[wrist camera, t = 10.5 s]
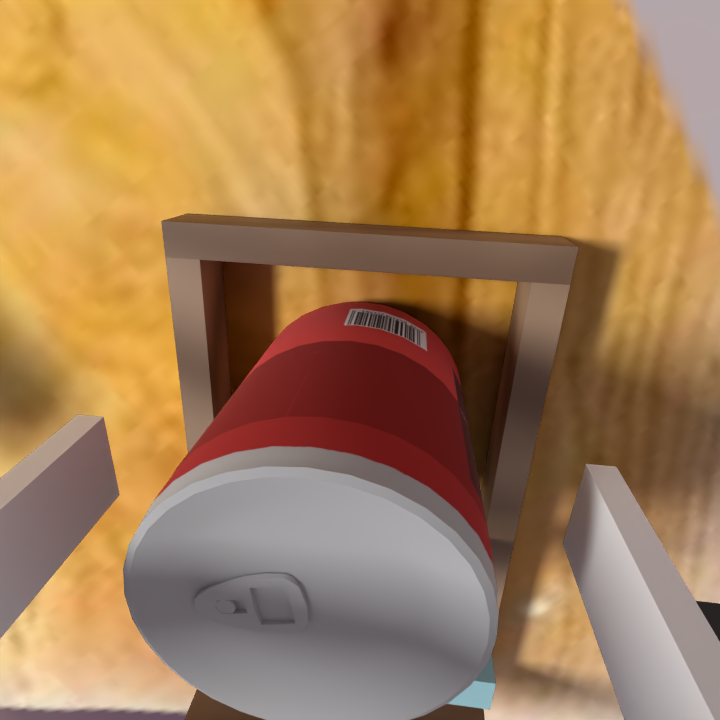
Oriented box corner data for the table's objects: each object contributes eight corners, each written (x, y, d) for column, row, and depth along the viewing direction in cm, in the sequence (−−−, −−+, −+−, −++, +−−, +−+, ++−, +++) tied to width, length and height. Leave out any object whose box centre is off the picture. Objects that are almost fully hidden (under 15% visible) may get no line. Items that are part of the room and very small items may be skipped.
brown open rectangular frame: (187, 213, 18) (-4, 269, 10) (561, 236, 17) (693, 319, 9) (226, 635, 27) (143, 847, 19) (473, 667, 26) (499, 907, 18)
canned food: (232, 337, 20) (45, 530, 10) (417, 261, 18) (417, 406, 8) (314, 484, 22) (231, 757, 12) (485, 432, 20) (550, 707, 10)
